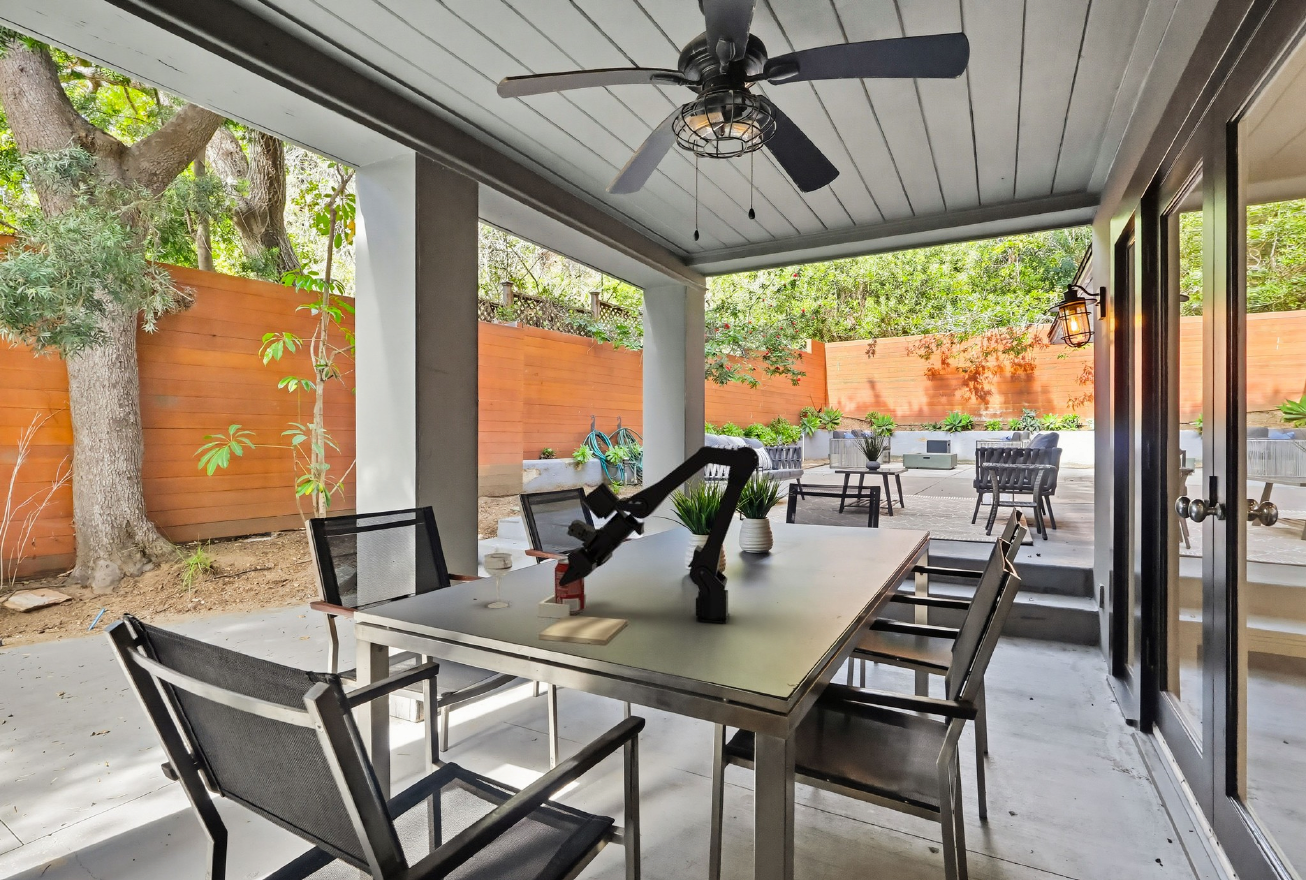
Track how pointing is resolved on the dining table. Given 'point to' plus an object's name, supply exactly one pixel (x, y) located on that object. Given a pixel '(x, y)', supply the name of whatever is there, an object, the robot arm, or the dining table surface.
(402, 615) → the dining table surface
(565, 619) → the pad
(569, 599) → the soda can
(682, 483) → the robot arm
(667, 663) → the dining table surface
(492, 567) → the wineglass
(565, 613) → the block
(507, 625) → the dining table surface
